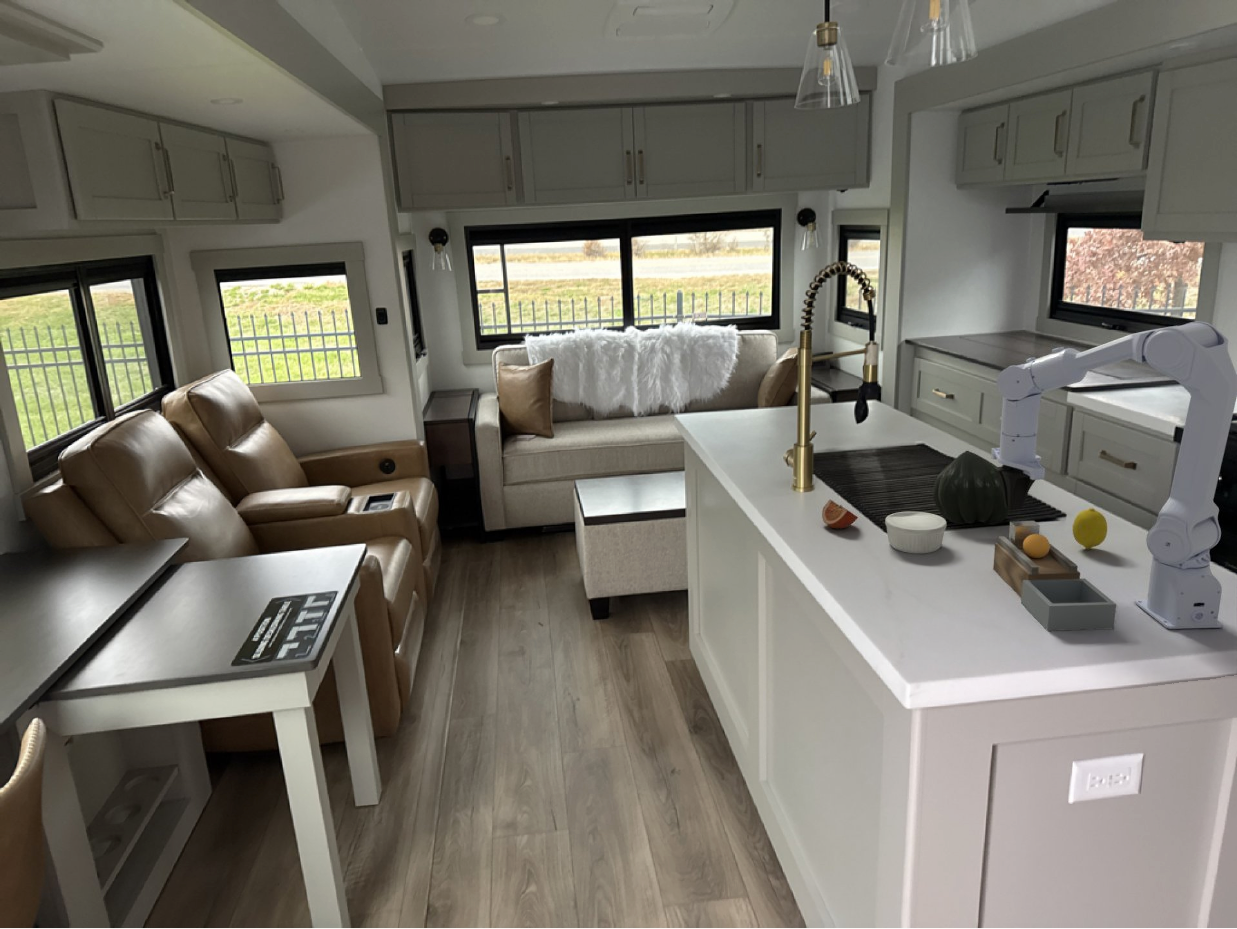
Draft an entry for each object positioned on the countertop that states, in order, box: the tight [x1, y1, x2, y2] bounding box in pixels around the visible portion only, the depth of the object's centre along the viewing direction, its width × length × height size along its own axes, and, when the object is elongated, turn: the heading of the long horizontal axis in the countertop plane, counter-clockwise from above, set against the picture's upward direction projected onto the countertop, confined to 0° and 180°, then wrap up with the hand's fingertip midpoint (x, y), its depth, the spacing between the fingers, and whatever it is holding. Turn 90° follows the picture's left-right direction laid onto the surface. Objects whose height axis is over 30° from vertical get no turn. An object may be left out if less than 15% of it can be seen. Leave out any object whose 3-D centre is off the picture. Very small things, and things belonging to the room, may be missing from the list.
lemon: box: [1072, 507, 1108, 550], centre depth 152 cm, size 6×6×8 cm
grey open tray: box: [1020, 577, 1117, 631], centre depth 128 cm, size 10×10×4 cm
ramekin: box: [884, 511, 947, 555], centre depth 159 cm, size 11×11×5 cm
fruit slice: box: [821, 499, 859, 529], centre depth 172 cm, size 8×7×5 cm
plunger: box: [1008, 520, 1041, 548], centre depth 143 cm, size 2×4×4 cm, turn 87°
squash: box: [932, 450, 1011, 526], centre depth 170 cm, size 14×15×15 cm
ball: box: [1023, 533, 1051, 558], centre depth 138 cm, size 4×4×4 cm
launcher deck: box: [992, 535, 1081, 598], centre depth 139 cm, size 14×8×6 cm, turn 177°
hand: (1013, 507), depth 147 cm, fingers closed
